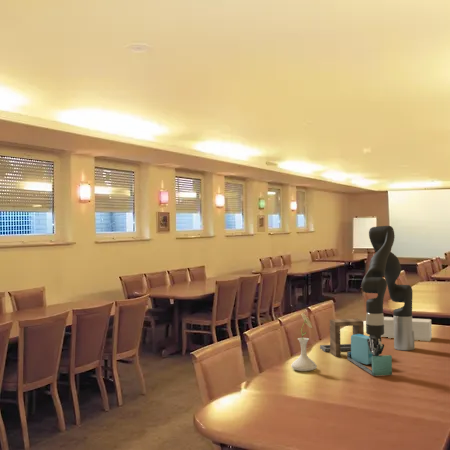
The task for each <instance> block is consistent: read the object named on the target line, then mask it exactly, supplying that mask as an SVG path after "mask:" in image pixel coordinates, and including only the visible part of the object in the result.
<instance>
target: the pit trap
mask: <svg viewBox="0 0 450 450" xmlns="http://www.w3.org/2000/svg"><path fill="white" fill-rule="evenodd" d="M340 346H341V352H348V351H351V343H342V344H341V343H340ZM319 349H320V350H321V349H322V350H321V351H323V352H325V353H330V344H322V345H321V344H320V345H319Z"/></svg>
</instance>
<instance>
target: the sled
mask: <svg viewBox="0 0 450 450" xmlns="http://www.w3.org/2000/svg"><path fill="white" fill-rule="evenodd" d="M346 357H347V360H348V361H349V362H351V363H353V364H355V365H356V366H357V367H359V368H360V369H362V370H364V371H365V372H367V373H369V374H370V375H372V376H374V377H376V376H377V377H379V376H393V362H392V361H393V360H392V359H393V356H392V355H391V354H380V355H379V356H372V364H371V369H370V368H368V367H367V366H365V365H363V363H360V362H357V361H355V360H354V359H352V358H351V351H346Z"/></svg>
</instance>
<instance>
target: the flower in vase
mask: <svg viewBox="0 0 450 450" xmlns="http://www.w3.org/2000/svg"><path fill="white" fill-rule="evenodd" d="M300 315H301V318H302V319H303V321H304V322H303V324H302V326H301V329H300V332H301V337H298V338H297V340H298V342H299V346H300V355H299V356H298V358H297V359H294V361H293V362H292V363H291V364H290V366H291V368H292V369H293V370H295V371H299V372H310V371H314V370H316V369H317V367H318V366H317V364H316V363H315V361H313V360H312V358H310V357H308V354H307V344H308V342H309V340H310V338H308V337H304V335H306V334H307V332H306V331H305V332H304V333H303V327H304V325H305V324H306V326H307V327H309V328H310V329H312V328H313V323H312V322H311V321H310V318H309V317H308V316H307V315H306V313H304V312H302V313H301V314H300Z"/></svg>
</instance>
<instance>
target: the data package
mask: <svg viewBox="0 0 450 450" xmlns="http://www.w3.org/2000/svg"><path fill="white" fill-rule="evenodd" d="M369 336H370V335H366V334H364V335H362V334H355V335H353V334H352V335H351V336H350V344H351V358H352V359H354V360H355V361H357V362H359V363H360V364H362V365H363V364H364V365H372V356H373V354H372V352H370V349H369V346H368V342H367V339H369Z"/></svg>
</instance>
